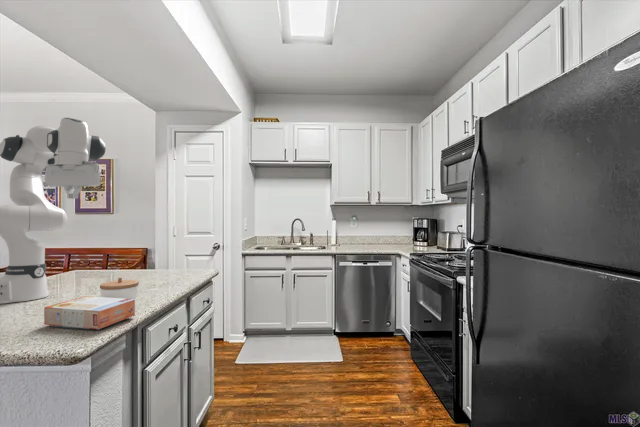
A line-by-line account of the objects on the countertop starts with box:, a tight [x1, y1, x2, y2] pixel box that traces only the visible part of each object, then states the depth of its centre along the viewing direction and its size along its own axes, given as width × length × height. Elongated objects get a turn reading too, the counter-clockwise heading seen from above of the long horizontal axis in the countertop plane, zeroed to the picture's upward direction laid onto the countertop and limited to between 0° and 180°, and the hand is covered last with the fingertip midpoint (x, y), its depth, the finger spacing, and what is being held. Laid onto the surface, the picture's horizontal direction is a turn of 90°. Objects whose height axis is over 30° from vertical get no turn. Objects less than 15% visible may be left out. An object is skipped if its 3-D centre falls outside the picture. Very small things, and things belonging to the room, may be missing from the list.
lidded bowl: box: [99, 277, 140, 300], centre depth 121 cm, size 13×13×11 cm
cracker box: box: [43, 295, 136, 330], centre depth 103 cm, size 14×6×21 cm
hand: (72, 198), depth 118 cm, fingers closed
